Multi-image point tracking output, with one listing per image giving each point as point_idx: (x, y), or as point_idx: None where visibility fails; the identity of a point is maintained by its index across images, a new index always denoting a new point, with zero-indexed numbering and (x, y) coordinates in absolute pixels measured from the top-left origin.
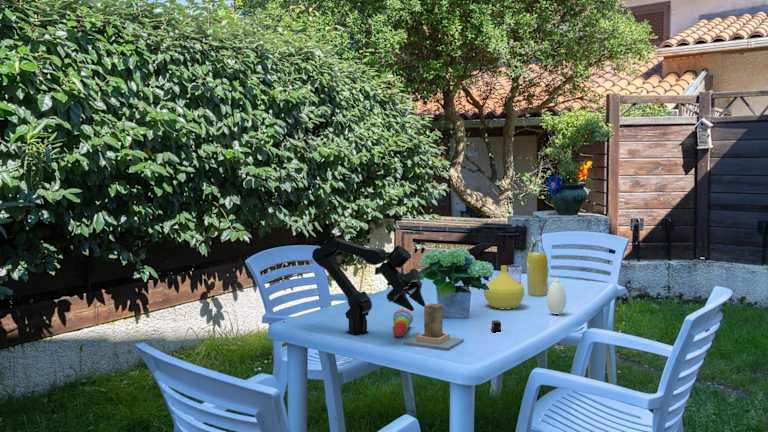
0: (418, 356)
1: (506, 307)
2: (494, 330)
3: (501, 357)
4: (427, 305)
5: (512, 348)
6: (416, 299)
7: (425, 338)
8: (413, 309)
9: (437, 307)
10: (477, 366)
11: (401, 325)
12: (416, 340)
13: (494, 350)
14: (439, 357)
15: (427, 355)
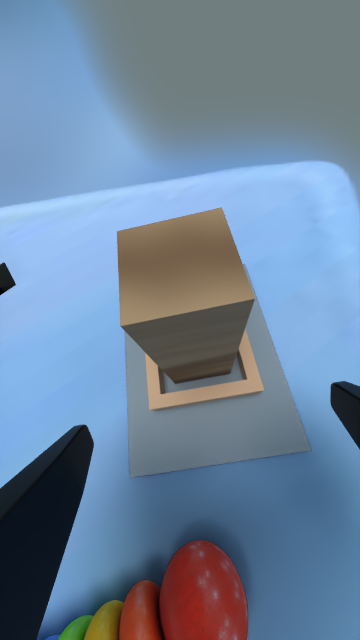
0: None
1: None
2: None
3: (202, 174)
4: (220, 286)
5: (123, 194)
6: (23, 610)
7: (249, 349)
8: (346, 382)
9: (208, 215)
10: (299, 165)
11: (210, 596)
12: (246, 406)
13: (161, 206)
14: (319, 248)
15: (335, 281)
